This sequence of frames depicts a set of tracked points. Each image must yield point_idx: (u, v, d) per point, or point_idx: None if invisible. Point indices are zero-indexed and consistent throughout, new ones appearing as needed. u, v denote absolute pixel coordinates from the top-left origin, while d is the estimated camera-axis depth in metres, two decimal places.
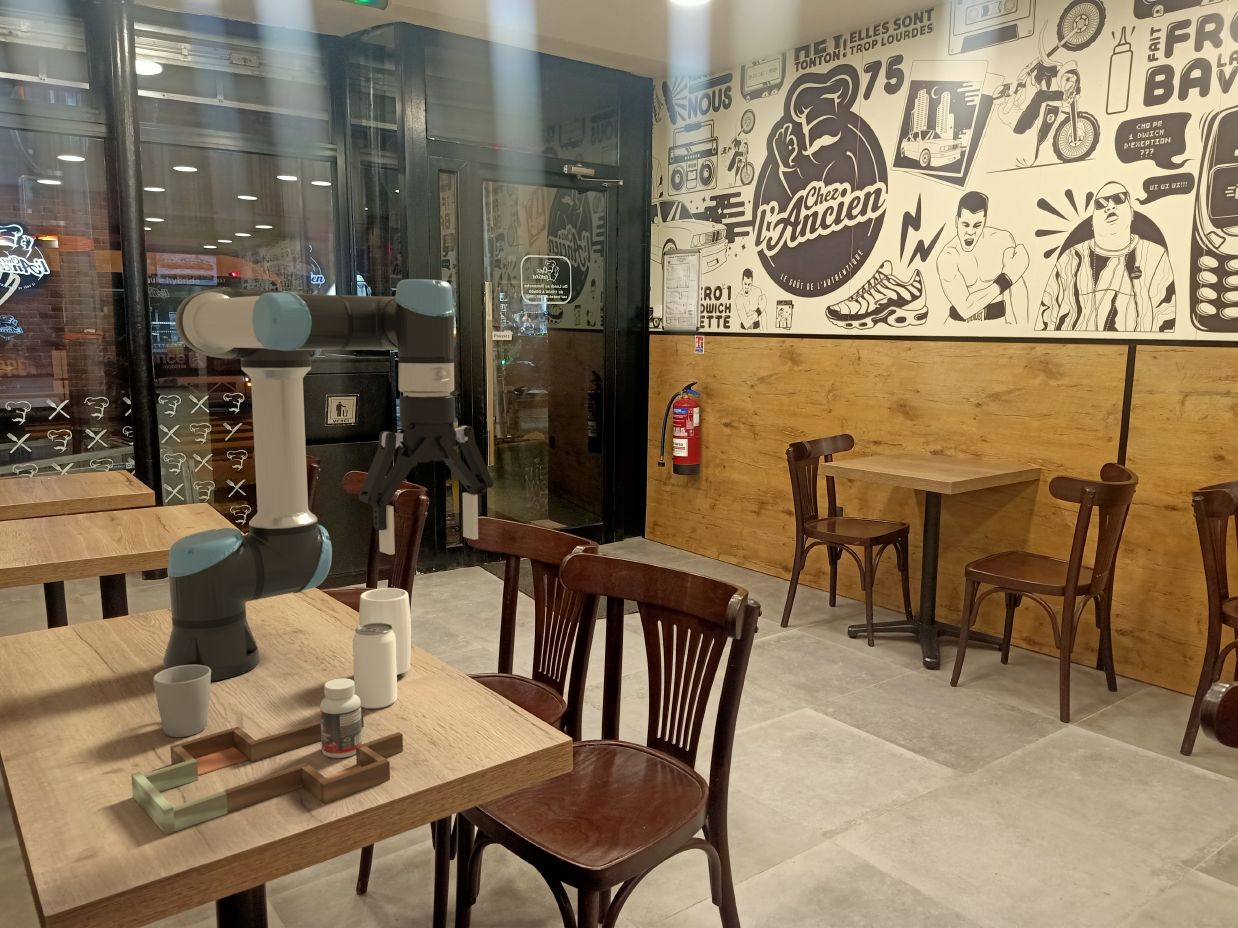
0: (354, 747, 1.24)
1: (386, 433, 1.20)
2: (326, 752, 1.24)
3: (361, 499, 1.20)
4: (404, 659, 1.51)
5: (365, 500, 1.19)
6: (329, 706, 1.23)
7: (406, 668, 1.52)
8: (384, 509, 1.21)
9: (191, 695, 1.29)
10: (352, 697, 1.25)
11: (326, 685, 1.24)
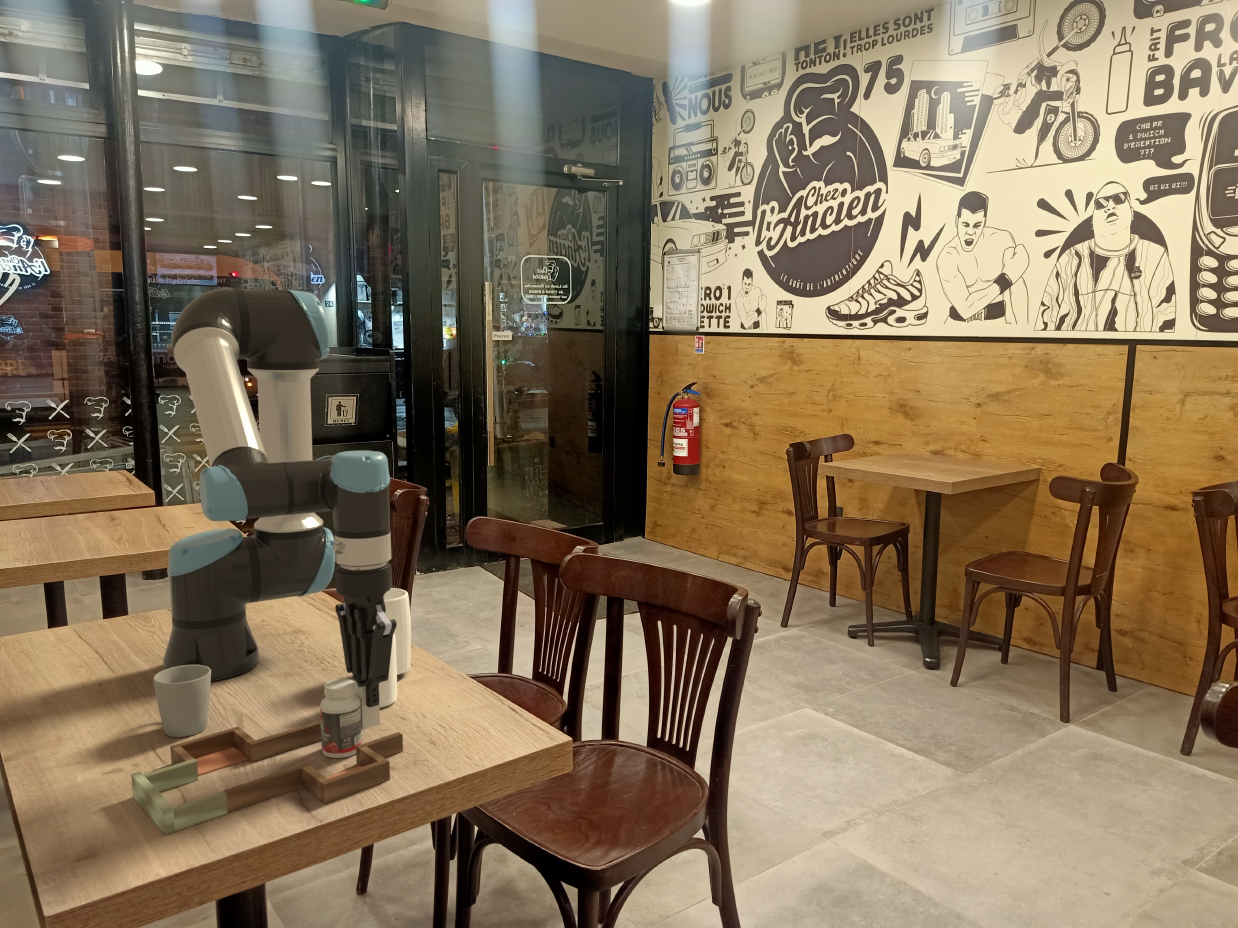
0: (354, 747, 1.24)
1: None
2: (326, 752, 1.24)
3: None
4: (404, 659, 1.51)
5: None
6: (329, 706, 1.23)
7: (406, 668, 1.52)
8: None
9: (191, 695, 1.29)
10: (352, 697, 1.25)
11: (326, 685, 1.24)
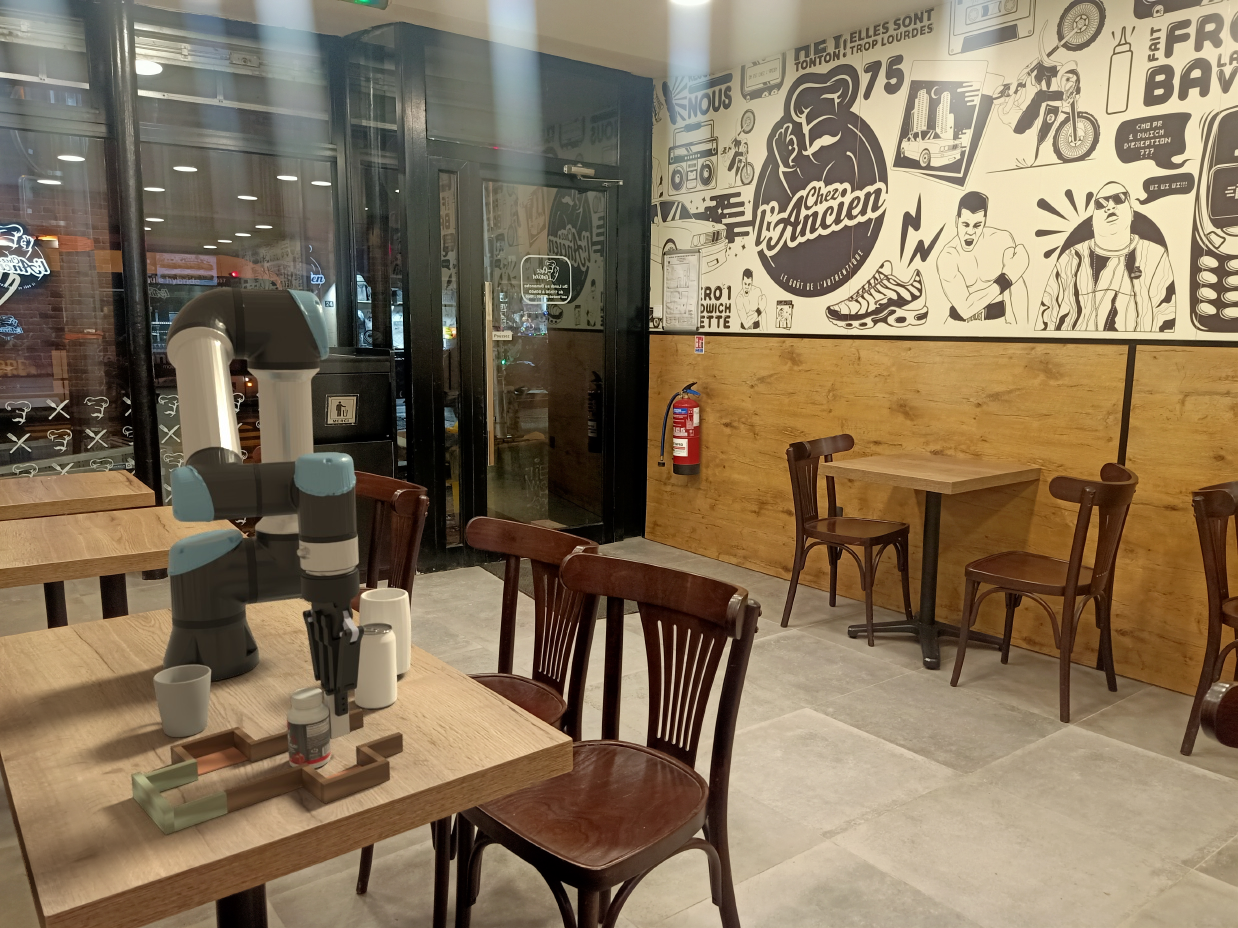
0: (322, 758, 1.21)
1: None
2: (293, 763, 1.20)
3: None
4: (404, 659, 1.51)
5: None
6: (295, 716, 1.19)
7: (406, 668, 1.52)
8: None
9: (191, 695, 1.29)
10: (320, 707, 1.21)
11: (293, 695, 1.20)
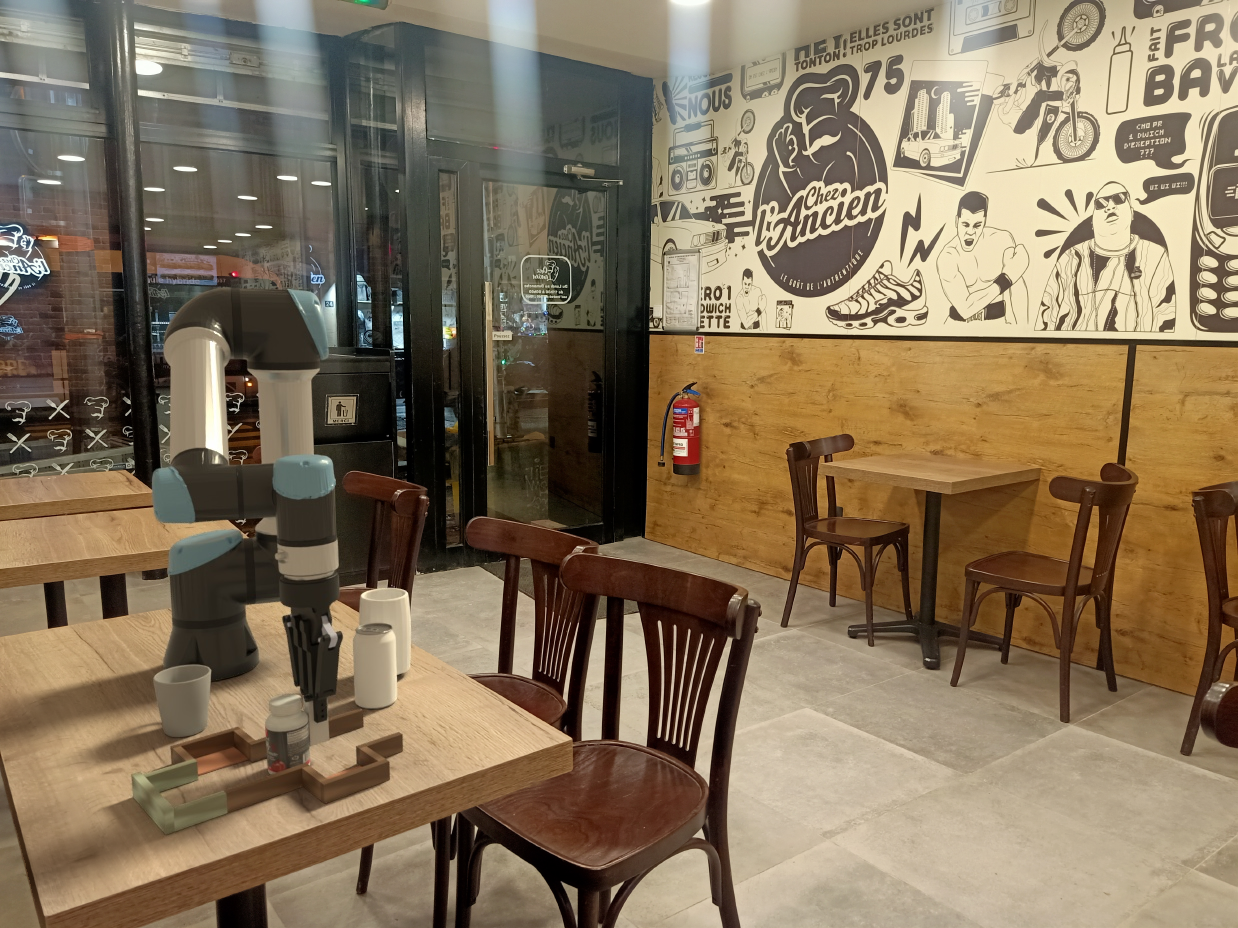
0: None
1: None
2: (273, 772, 1.18)
3: None
4: (404, 659, 1.51)
5: None
6: (275, 723, 1.17)
7: (406, 668, 1.52)
8: None
9: (191, 695, 1.29)
10: (299, 713, 1.19)
11: (271, 702, 1.18)
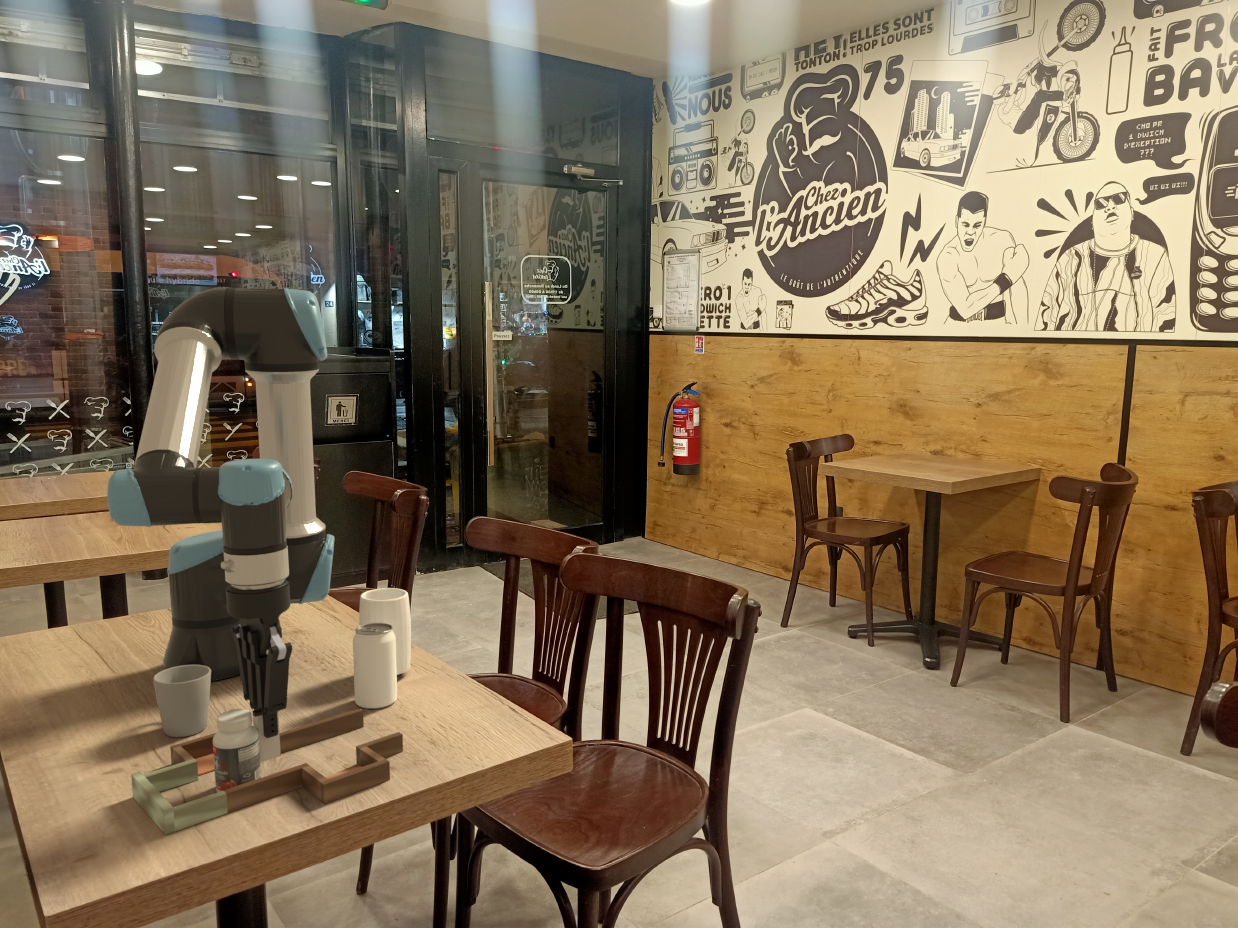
0: None
1: None
2: None
3: None
4: (404, 659, 1.51)
5: None
6: (225, 740, 1.12)
7: (406, 668, 1.52)
8: None
9: (191, 695, 1.29)
10: (249, 728, 1.14)
11: (219, 718, 1.13)
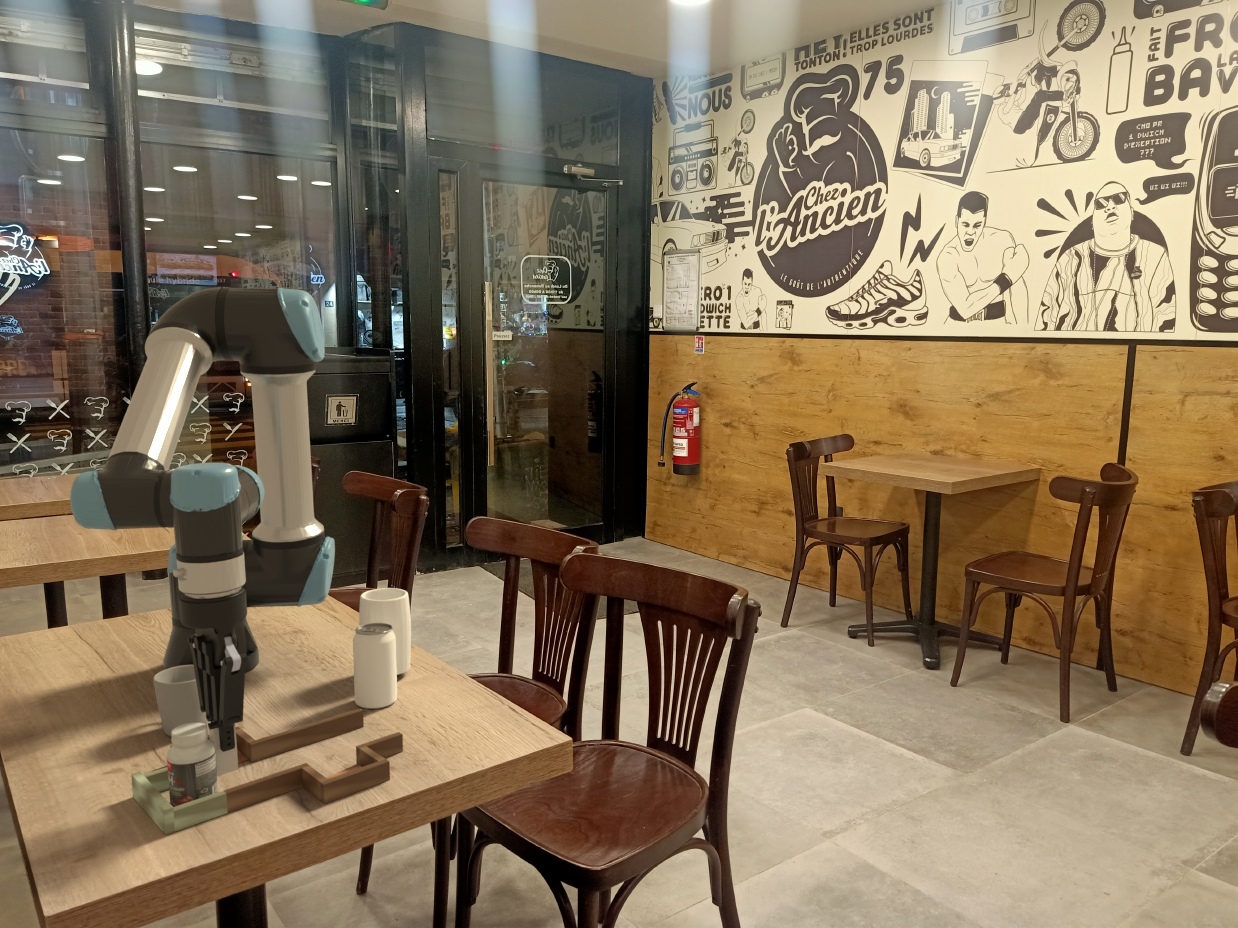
0: None
1: None
2: None
3: None
4: (404, 659, 1.51)
5: None
6: (181, 755, 1.08)
7: (406, 668, 1.52)
8: None
9: (191, 695, 1.29)
10: (206, 742, 1.10)
11: (174, 733, 1.09)
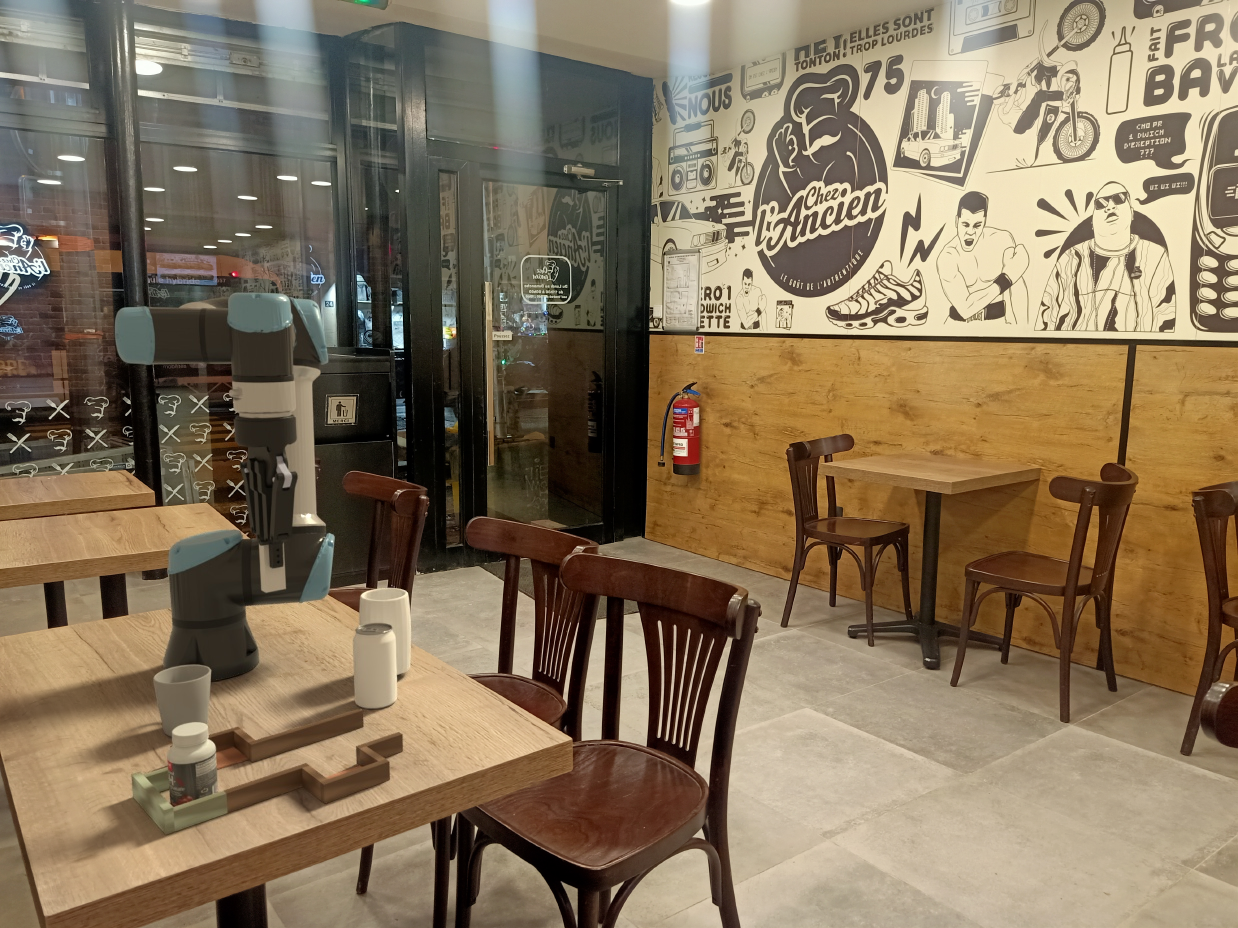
0: None
1: None
2: None
3: None
4: (404, 659, 1.51)
5: None
6: (181, 755, 1.08)
7: (406, 668, 1.52)
8: None
9: (191, 695, 1.29)
10: (206, 742, 1.10)
11: (175, 733, 1.09)
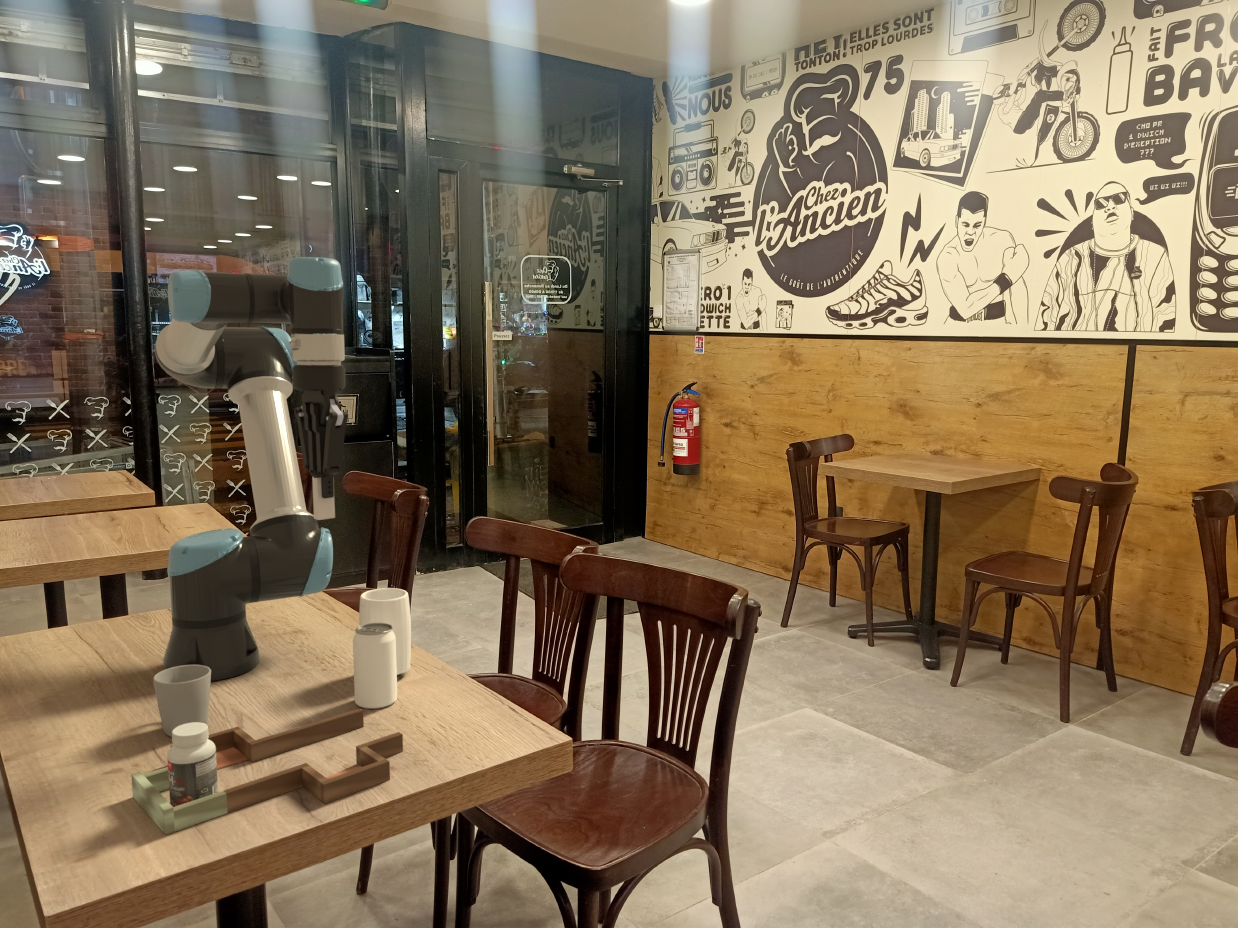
0: None
1: None
2: None
3: None
4: (404, 659, 1.51)
5: (308, 468, 1.40)
6: (182, 755, 1.08)
7: (406, 668, 1.52)
8: None
9: (191, 695, 1.29)
10: (206, 742, 1.10)
11: (175, 733, 1.09)
